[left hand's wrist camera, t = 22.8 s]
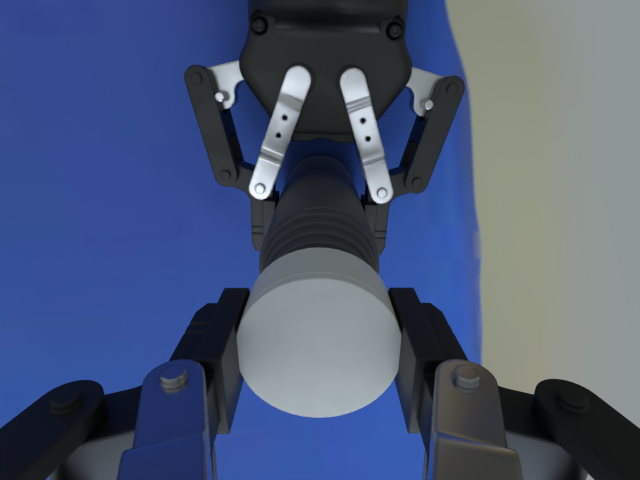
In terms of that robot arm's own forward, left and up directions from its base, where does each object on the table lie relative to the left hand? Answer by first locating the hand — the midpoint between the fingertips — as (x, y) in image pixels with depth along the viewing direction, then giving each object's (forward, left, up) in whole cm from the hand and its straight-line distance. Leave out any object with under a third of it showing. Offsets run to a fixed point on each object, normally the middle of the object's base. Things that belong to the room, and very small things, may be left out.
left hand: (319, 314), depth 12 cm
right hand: (+2, -1, -11) cm, 11 cm away
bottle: (0, 0, -17) cm, 17 cm away
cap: (0, 0, +2) cm, 2 cm away
